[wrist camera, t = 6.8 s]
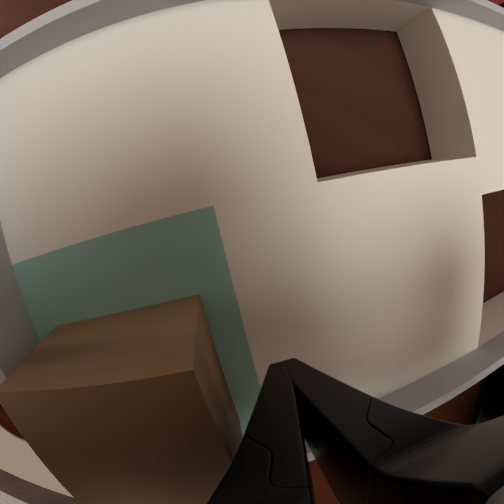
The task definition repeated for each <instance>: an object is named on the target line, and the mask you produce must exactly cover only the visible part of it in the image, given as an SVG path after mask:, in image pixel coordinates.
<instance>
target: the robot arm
mask: <svg viewBox="0 0 504 504" xmlns="http://www.w3.org/2000/svg"><path fill="white" fill-rule="evenodd" d="M305 440H306V442H307V444H308V446H309V448H310V450H311V452H312V454H313V456H314V458H315V459H316V461H317V463H318V465H319V467H320V469H321V471H322V473H323V475H324V476H325V478H326V480H327V482H328V484H329V486H330V488H331V489H332V491H333V493H334V495H335V497H336V499H337V500H338V502H339V504H504V364H503V365H502V366H500V367H499V368H498V369H496V370H495V371H493V372H492V373H491V374H489V375H488V376H487V377H486V378H485V380H484V383H483V387H482V391H481V395H480V399H479V402H478V406H477V410H476V413H475V416H474V420H473V423H472V425H462V424H456V423H451V422H447V421H443V420H440V419H436V418H432V417H428V416H425V415H421V414H418V413H414V412H411V411H408V410H405V409H402V408H399V407H396V406H394V405H391V404H389V403H387V402H384V401H382V400H380V399H377V398H375V397H372V396H371V395H368V394H366V393H364V392H362V391H360V390H358V389H356V388H354V387H352V386H349V385H347V384H345V383H343V382H341V381H339V380H337V379H335V378H333V377H331V376H329V375H327V374H325V373H323V372H321V371H319V370H317V369H315V368H313V367H311V366H309V365H307V364H305V363H304V362H302V361H300V360H298V359H296V358H291V359H287V360H284V361H280V362H276V363H273V364H270V365H269V367H268V370H267V372H266V375H265V378H264V381H263V384H262V387H261V389H260V392H259V395H258V398H257V401H256V403H255V406H254V409H253V412H252V414H251V417H250V420H249V422H248V425H247V428H246V430H245V433H244V437H243V438H242V440H241V443H240V446H239V448H238V450H237V453H236V455H235V457H234V459H233V461H232V463H231V465H230V467H229V468H228V470H227V472H226V474H225V475H224V477H223V479H222V480H221V482H220V483H219V485H218V487H217V488H216V490H215V491H214V493H213V494H212V496H211V498H210V499H209V501H208V502H207V504H316V503H315V497H314V491H313V485H312V479H311V473H310V467H309V461H308V455H307V450H306V444H305Z"/></svg>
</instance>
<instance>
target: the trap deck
mask: <svg viewBox="0 0 504 504" xmlns="http://www.w3.org/2000/svg"><path fill="white" fill-rule="evenodd" d="M304 28H352V29H371V30H383V31H394V32H397V35H398V37H399V40H400V43H401V45H402V48H403V51H404V54H405V57H406V60H407V63H408V66H409V69H410V72H411V75H412V78H413V82H414V85H415V89H416V92H417V96H418V99H419V103H420V107H421V111H422V115H423V119H424V123H425V128H426V132H427V137H428V142H429V147H430V152H431V158H432V159H431V160H424V161H417V162H410V163H404V164H397V165H391V166H384V167H378V168H372V169H366V170H361V171H355V172H349V173H344V174H338V175H333V176H328V177H322V178H316V173H315V168H314V163H313V159H312V154H311V150H310V146H309V141H308V137H307V133H306V128H305V124H304V120H303V116H302V112H301V108H300V104H299V100H298V97H297V93H296V89H295V85H294V82H293V78H292V74H291V71H290V67H289V64H288V60H287V57H286V53H285V50H284V47H283V43H282V40H281V37H280V34H279V30H285V29H304ZM503 189H504V8H503V7H501V6H499V5H496V4H494V3H492V2H490V1H488V0H72V1H70V2H68V3H66V4H63V5H61V6H59V7H57V8H55V9H53V10H51V11H49V12H47V13H45V14H43V15H41V16H39V17H37V18H35V19H33V20H32V21H30V22H28V23H26V24H24V25H23V26H21V27H19V28H18V29H16V30H14V31H13V32H11V33H9V34H8V35H6V36H4V37H3V38H1V39H0V385H1V384H2V383H3V381H4V380H5V379H6V378H7V377H8V376H9V375H10V374H11V373H12V371H13V370H14V369H15V368H16V367H17V366H18V365H19V364H20V363H21V362H22V361H23V360H24V358H25V357H26V356H27V355H28V354H29V353H30V352H31V351H32V350H33V349H34V348H35V347H36V346H37V345H38V344H39V343H40V342H41V341H42V340H43V339H44V338H45V337H46V336H47V335H48V334H49V332H50V331H51V330H52V329H53V328H54V327H55V326H57V325H62V324H67V323H72V322H76V321H81V320H86V319H91V318H96V317H100V316H105V315H110V314H114V313H119V312H124V311H128V310H133V309H137V308H142V307H146V306H151V305H155V304H159V303H164V302H168V301H172V300H177V299H181V298H185V297H190V296H194V295H198V294H199V295H200V298H201V301H202V305H203V308H204V312H205V315H206V318H207V322H208V325H209V328H210V332H211V335H212V338H213V341H214V345H215V348H216V351H217V354H218V357H219V360H220V363H221V366H222V370H223V373H224V376H225V379H226V382H227V385H228V388H229V391H230V393H231V396H232V399H233V402H234V405H235V408H236V411H237V414H238V416H239V419H240V425H241V431H242V437H244V433H245V430H246V428H247V425H248V422H249V420H250V417H251V414H252V412H253V409H254V406H255V403H256V401H257V398H258V395H259V392H260V389H261V387H262V384H263V381H264V378H265V375H266V372H267V370H268V367H269V365H270V364H273V363H276V362H280V361H284V360H287V359H291V358H296V359H298V360H300V361H302V362H304V363H305V364H307V365H309V366H311V367H313V368H315V369H317V370H319V371H321V372H323V373H325V374H327V375H329V376H331V377H333V378H335V379H337V380H339V381H341V382H343V383H345V384H347V385H349V386H352V387H354V388H356V389H358V390H360V391H362V392H364V393H366V394H368V395H371V396H372V397H375V398H377V399H380V400H382V401H384V402H387V403H389V404H391V405H394V406H396V407H399V408H402V409H405V410H408V411H411V412H414V413H418V414H421V415H423V414H425V413H427V412H429V411H431V410H432V409H434V408H436V407H438V406H440V405H441V404H443V403H445V402H447V401H448V400H450V399H452V398H453V397H455V396H457V395H458V394H460V393H462V392H463V391H465V390H466V389H468V388H470V387H471V386H473V385H474V384H476V383H477V382H479V381H480V380H482V379H483V378H485V377H486V376H487V375H489V374H490V373H492V372H493V371H495V370H496V369H497V368H499V367H500V366H501V365H503V364H504V291H503V292H502V293H500V294H498V295H497V296H495V297H493V298H491V299H490V300H488V301H486V302H484V303H483V292H484V262H485V251H484V220H483V206H482V195H483V194H487V193H491V192H495V191H499V190H503ZM1 405H2V404H1ZM8 416H9V415H8ZM10 419H11V418H10ZM12 422H13V421H12ZM14 425H15V424H14ZM16 428H17V427H16ZM26 442H27V441H26ZM305 444H306V450H307V455H308V461H312V460H315V458H314V456H313V454H312V452H311V450H310V448H309V446H308V444H307V442H306V440H305Z"/></svg>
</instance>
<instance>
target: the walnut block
mask: <svg viewBox="0 0 504 504" xmlns="http://www.w3.org/2000/svg"><path fill="white" fill-rule="evenodd" d="M0 403H1V404H2V406H3V408H4V409H5V411H6V412H7V414H8V415H9V417H10V418H11V420H12V421H13V423H14V424H15V426H16V427H17V429H18V430H19V432H20V433H21V435H22V436H23V437H24V439H25V440H26V441H27V443H28V444H29V445H30V447H31V448H32V449H33V451H34V452H35V453H36V455H37V456H38V457H39V458H40V460H41V461H42V462H43V463H44V464H45V466H46V467H47V468H48V469H49V470H50V472H51V473H52V474H53V475H54V476H55V477H56V479H57V480H58V481H59V482H60V483H61V484H62V485H63V486H64V487H65V488H66V489H67V491H69V492H70V494H71V495H72V496H73V497H74V498H75V499H76V500H77V501H78V502H79V503H80V504H207V502H208V501H209V499H210V498H211V496H212V494H213V493H214V491H215V490H216V488H217V487H218V485H219V483H220V482H221V480H222V479H223V477H224V475H225V474H226V472H227V470H228V468H229V467H230V465H231V463H232V461H233V459H234V457H235V455H236V453H237V450H238V448H239V446H240V443H241V440H242V438H243V437H242V431H241V425H240V419H239V416H238V414H237V411H236V408H235V405H234V402H233V399H232V396H231V393H230V391H229V388H228V385H227V382H226V379H225V376H224V373H223V370H222V366H221V363H220V360H219V357H218V354H217V351H216V348H215V345H214V341H213V338H212V335H211V332H210V328H209V325H208V322H207V318H206V315H205V312H204V308H203V305H202V301H201V298H200V295H199V294H198V295H194V296H190V297H185V298H181V299H177V300H172V301H168V302H164V303H159V304H155V305H151V306H146V307H142V308H137V309H133V310H128V311H124V312H119V313H114V314H110V315H105V316H100V317H96V318H91V319H86V320H81V321H76V322H72V323H67V324H62V325H57V326H55V327H54V328H53V329H52V330H51V331H50V332H49V334H48V335H47V336H46V337H45V338H44V339H43V340H42V341H41V342H40V343H39V344H38V345H37V346H36V347H35V348H34V349H33V350H32V351H31V352H30V353H29V354H28V355H27V356H26V357H25V358H24V360H23V361H22V362H21V363H20V364H19V365H18V366H17V367H16V368H15V369H14V370H13V371H12V373H11V374H10V375H9V376H8V377H7V378H6V379H5V380H4V381H3V383H2V384H1V385H0Z"/></svg>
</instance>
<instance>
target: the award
mask: <svg viewBox="0 0 504 504" xmlns="http://www.w3.org/2000/svg"><path fill="white" fill-rule="evenodd" d="M0 504H80V503H79V502H78V501H77V500H76V499H75V498H73V497H69V496H66V495H63V494H60V493H57V492H54V491H52V490H49V489H46V488H43V487H41V486H38V485H35V484H33V483H31V482H28V481H26V480H23V479H21V478H19V477H16V476H14V475H12V474H10V473H8V472H6V471H3V470H1V469H0Z"/></svg>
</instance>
